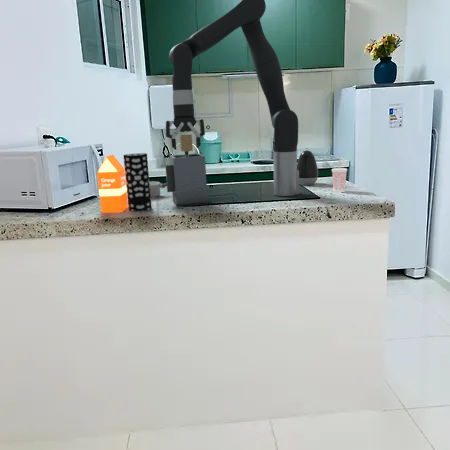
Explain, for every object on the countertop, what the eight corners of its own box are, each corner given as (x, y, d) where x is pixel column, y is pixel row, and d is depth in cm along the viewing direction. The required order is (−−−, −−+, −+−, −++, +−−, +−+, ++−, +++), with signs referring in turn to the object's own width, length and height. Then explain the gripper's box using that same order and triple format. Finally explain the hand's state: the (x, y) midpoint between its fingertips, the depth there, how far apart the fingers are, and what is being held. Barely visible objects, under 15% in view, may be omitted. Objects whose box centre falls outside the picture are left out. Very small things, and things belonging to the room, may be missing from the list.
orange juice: (101, 212, 161) (94, 157, 156) (108, 207, 169) (102, 154, 164) (122, 212, 160) (116, 156, 155) (128, 206, 169) (123, 153, 164)
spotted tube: (141, 212, 158) (135, 155, 153) (124, 210, 163) (118, 155, 158) (156, 207, 165) (151, 153, 160) (139, 205, 170) (134, 153, 165)
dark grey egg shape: (295, 186, 196) (294, 151, 192) (295, 182, 206) (295, 149, 202) (318, 186, 194) (319, 151, 190) (317, 182, 204) (318, 148, 200)
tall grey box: (201, 198, 178) (199, 153, 173) (207, 204, 167) (204, 156, 162) (166, 202, 175) (163, 155, 170) (170, 207, 164) (166, 158, 159)
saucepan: (182, 196, 184) (181, 183, 183) (133, 200, 182) (131, 186, 180) (180, 192, 195) (180, 179, 194) (134, 195, 193) (133, 182, 191)
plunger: (199, 196, 176) (195, 133, 170) (203, 201, 167) (199, 134, 161) (176, 198, 174) (171, 134, 168) (179, 203, 165) (174, 135, 159)
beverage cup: (329, 191, 180) (329, 157, 177) (334, 189, 185) (334, 155, 182) (344, 192, 177) (345, 157, 173) (348, 190, 182) (349, 155, 178)
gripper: (200, 102, 167) (203, 146, 171) (162, 104, 164) (166, 149, 168) (204, 102, 160) (207, 148, 164) (164, 104, 157) (168, 150, 161)
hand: (186, 148), depth 166 cm, fingers open, 8 cm apart
